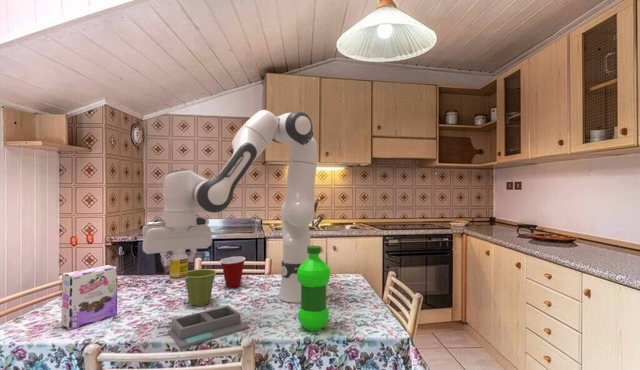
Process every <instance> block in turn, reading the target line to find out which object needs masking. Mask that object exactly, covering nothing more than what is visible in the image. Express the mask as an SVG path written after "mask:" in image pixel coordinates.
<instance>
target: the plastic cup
mask: <svg viewBox="0 0 640 370" xmlns="http://www.w3.org/2000/svg"><path fill="white" fill-rule="evenodd" d="M245 260H246V257H244V256H230V257H225V258H221V259H220V260H219V263H220V264H221V267H222V272H223V278H224V281H225V286H226V288H227V289H236V288H240V286H241V283H242V277H243V270H244V264H245Z"/></svg>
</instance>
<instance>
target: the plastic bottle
mask: <svg viewBox="0 0 640 370" xmlns="http://www.w3.org/2000/svg"><path fill="white" fill-rule="evenodd" d="M307 253H309V258H308V259H307V260H305V261H304V262H303V263H302V264H301V265H300V267H299V269H298V271H297V279H298V281H299V283H300V284H301V303H300V305H301V306H300V308H299V311H298V314H297V320H298V322H299V324H300V325H301V326H303V328H304V329H305V328H306V329H305V330H306V331H309V330H310V332H317V331H316V330H318V331H320V330H322V329H321V328H324V327H326V325H327V324H328V322H329V321H330V320H329V319H330V318H329V317H330V311H329V308H328V306H327V297H326V284H327V285H328V283H329V282H330V278H331V268H330V266H329V265H328V264H327V263H326V262H325V260H323V259H321V258H320V254H322V251H321V245H311V246H308V247H307ZM319 329H320V330H319Z"/></svg>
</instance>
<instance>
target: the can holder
mask: <svg viewBox="0 0 640 370" xmlns="http://www.w3.org/2000/svg"><path fill="white" fill-rule="evenodd" d="M170 321H171V322H170V323H171V326H170V327H171V329H167V333H168V334H169V336H170V337H171V338H172V339H173V341H174V342H175V344H176V345H177V346H178V347H179V348H180V349H184V348H187V347H191V346H194V345H198V344H200V343H201V344H202V343H204V342H208V341H211V340H214V339H218V338H220V337H224V336H227V335H228V336H229V335H230V334H234V333H237V332H240V331H245V330H246V329H247V330H249V327H250V326H249V325H248V324H246V323H244V322H243V321H242V320H241V313H240V312H238V311H237V310H235V309H234V308H232V307H231V306H230V305H226V306H221V307H217V308H212V309H209V310H204V311H200V312H196V313H193V314H189V315H184V316H180V317H179V316H178V317H175V318H172V319H171V320H170Z"/></svg>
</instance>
